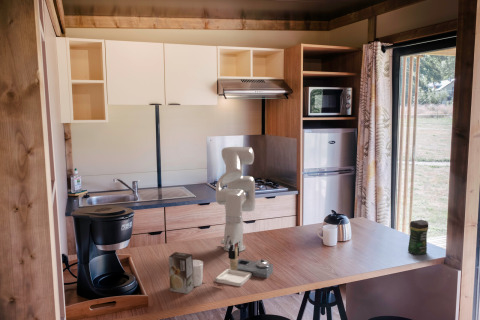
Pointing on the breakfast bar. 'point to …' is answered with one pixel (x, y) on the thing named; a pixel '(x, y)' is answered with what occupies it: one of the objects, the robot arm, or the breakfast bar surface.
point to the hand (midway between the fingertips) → (233, 256)
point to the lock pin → (234, 260)
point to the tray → (233, 277)
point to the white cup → (197, 272)
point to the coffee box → (181, 272)
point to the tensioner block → (256, 267)
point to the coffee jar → (418, 237)
